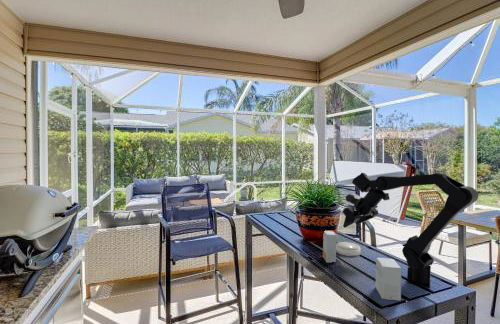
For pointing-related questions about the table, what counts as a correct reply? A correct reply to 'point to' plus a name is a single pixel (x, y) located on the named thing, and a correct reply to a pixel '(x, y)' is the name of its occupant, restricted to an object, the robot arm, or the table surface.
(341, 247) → the ceramic stand
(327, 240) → the skincare box
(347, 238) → the table surface
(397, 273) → the small box
